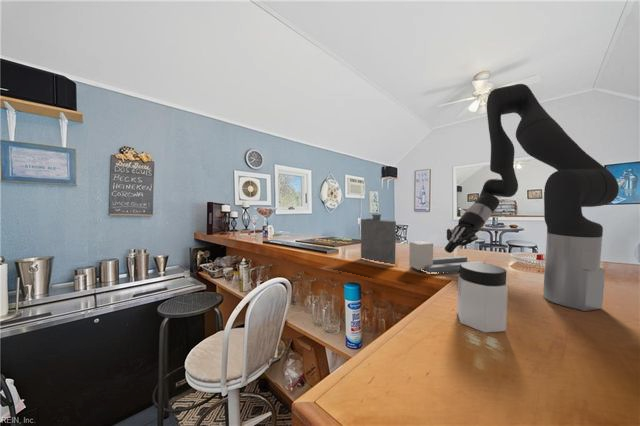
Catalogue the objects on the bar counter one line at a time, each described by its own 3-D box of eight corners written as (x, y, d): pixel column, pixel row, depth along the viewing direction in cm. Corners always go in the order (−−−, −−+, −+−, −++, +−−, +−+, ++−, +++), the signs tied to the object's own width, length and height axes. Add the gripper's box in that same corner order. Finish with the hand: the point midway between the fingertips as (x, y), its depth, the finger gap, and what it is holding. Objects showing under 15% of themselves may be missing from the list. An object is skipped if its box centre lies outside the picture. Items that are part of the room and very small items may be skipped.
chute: (485, 269, 84) (485, 262, 84) (429, 275, 79) (429, 267, 78) (462, 262, 94) (462, 256, 94) (411, 266, 88) (411, 260, 88)
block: (432, 268, 82) (433, 243, 81) (417, 269, 80) (418, 244, 80) (423, 264, 87) (423, 240, 86) (409, 265, 85) (409, 241, 85)
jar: (483, 311, 54) (485, 260, 53) (516, 331, 46) (519, 272, 45) (447, 313, 53) (449, 262, 52) (474, 334, 45) (477, 274, 44)
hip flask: (396, 265, 90) (397, 214, 89) (391, 267, 88) (391, 215, 86) (363, 257, 102) (364, 212, 101) (358, 259, 99) (358, 213, 98)
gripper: (455, 210, 93) (429, 241, 91) (485, 212, 81) (455, 248, 79) (465, 222, 95) (439, 253, 93) (497, 226, 82) (468, 262, 80)
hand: (447, 251), depth 86 cm, fingers closed
